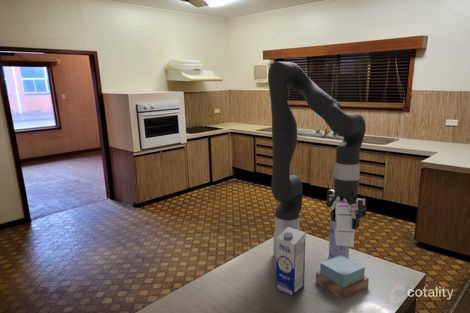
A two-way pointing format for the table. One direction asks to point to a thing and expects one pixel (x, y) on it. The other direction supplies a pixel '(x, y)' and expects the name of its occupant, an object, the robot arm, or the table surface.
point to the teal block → (342, 271)
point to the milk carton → (290, 261)
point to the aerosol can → (336, 249)
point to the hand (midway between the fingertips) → (344, 224)
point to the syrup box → (343, 225)
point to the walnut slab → (340, 290)
